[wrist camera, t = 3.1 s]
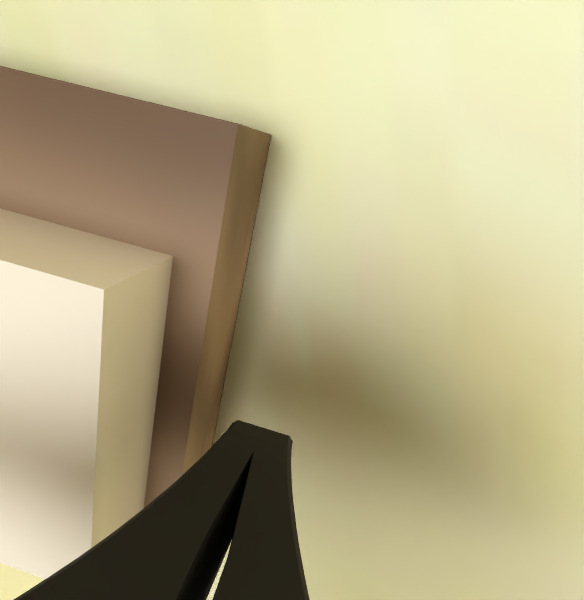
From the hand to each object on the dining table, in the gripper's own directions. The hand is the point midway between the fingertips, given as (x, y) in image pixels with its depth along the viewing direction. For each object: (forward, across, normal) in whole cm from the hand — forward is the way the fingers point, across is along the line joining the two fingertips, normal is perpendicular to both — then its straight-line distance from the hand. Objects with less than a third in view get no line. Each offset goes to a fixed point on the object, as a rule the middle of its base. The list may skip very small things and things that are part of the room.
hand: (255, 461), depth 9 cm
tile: (0, +6, 0) cm, 6 cm away
